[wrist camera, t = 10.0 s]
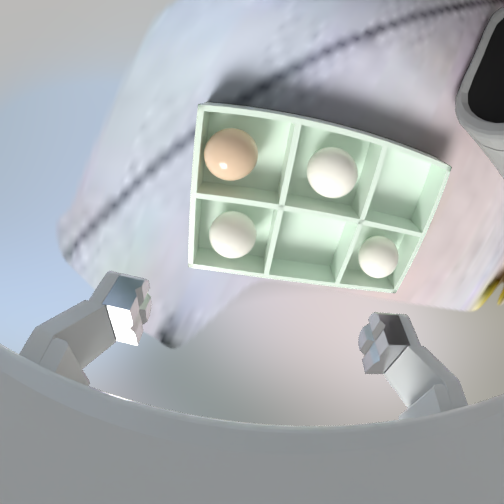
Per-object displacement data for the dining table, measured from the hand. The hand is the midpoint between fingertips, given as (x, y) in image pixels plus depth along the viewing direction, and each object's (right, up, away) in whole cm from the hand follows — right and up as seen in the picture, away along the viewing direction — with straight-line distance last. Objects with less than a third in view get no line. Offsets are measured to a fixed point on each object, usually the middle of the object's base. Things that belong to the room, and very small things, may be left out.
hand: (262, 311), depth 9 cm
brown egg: (-1, +11, +14) cm, 18 cm away
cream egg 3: (+13, +3, +19) cm, 23 cm away
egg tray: (+6, +7, +17) cm, 19 cm away
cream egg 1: (-2, +5, +18) cm, 19 cm away
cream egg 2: (+6, +10, +14) cm, 19 cm away
